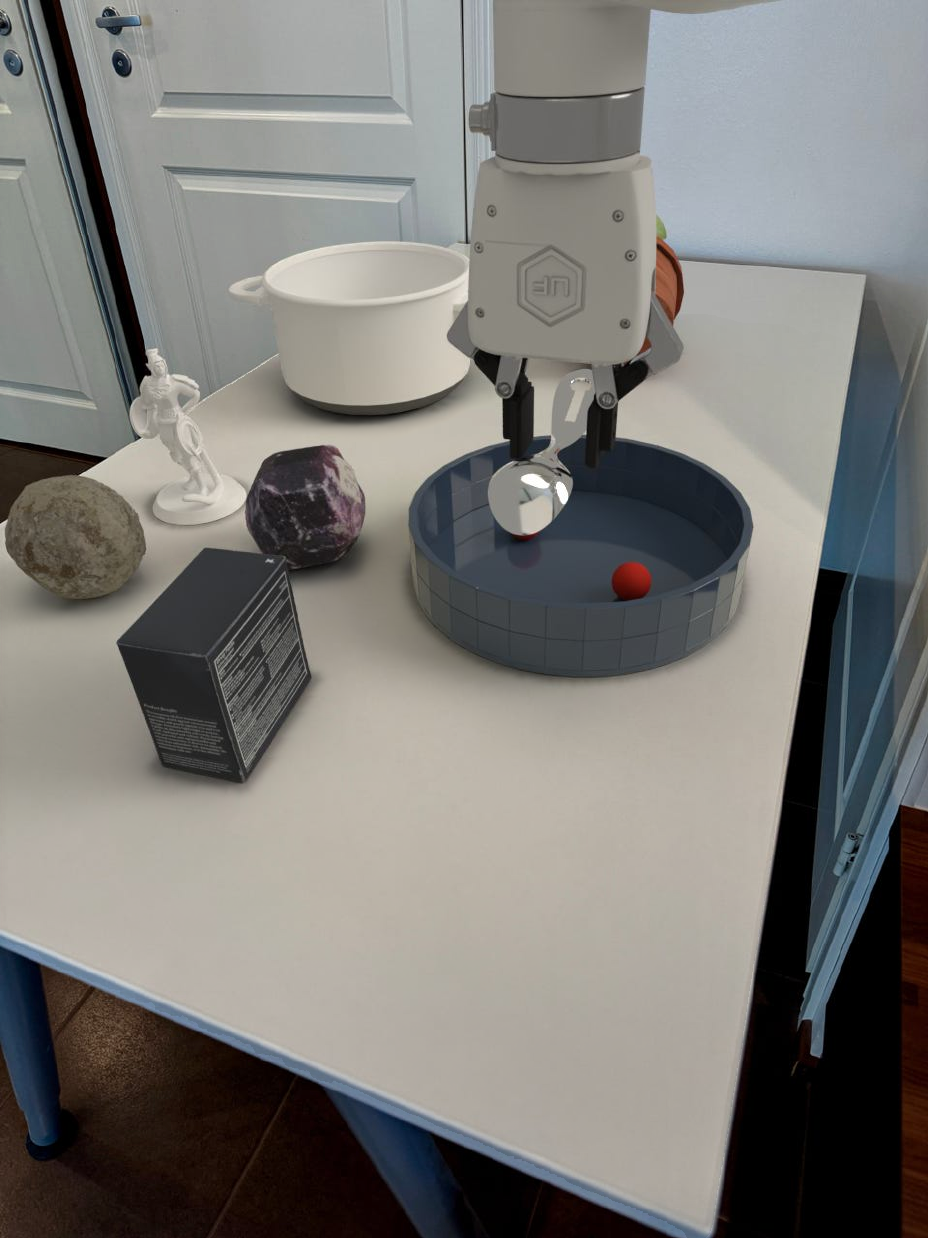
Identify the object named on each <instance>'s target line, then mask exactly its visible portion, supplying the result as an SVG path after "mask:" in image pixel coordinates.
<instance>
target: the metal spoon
mask: <svg viewBox="0 0 928 1238" xmlns="http://www.w3.org/2000/svg"><path fill="white" fill-rule="evenodd" d="M577 382H587V383H588V384H590V386H591V387H590V388H588V389H587V390H585V391H584V394H583V396H582V400H581V402H580V405H579V409H578V412H577V414H576V417H575V420H574V421H571V420H567V418H568V415H569V412H570V409H571V406H572V403H573V401H574V398H575V395H576V390H575V389H573V388H572V385H573V384H574V383H577ZM594 394H595V386H594V380H593V373H592V369H589V368H582V369H578V370H574V371H571V372H569V373H567V374H566V375H564V376H563V377H562V378H561V379H560V380H559V382H558V384H557V386H556V388H555V391H554V394H553V401H552V409H551V424H550V425H551V426H550V427H551V430H550V431H551V432H550V435H551V442H550V445H549V447H548V448H547V449H546V450H544V451H542V452H540V453H538V454H534V455H530V456H526V457H522V458H519V459H517V460H514V461H512V462H510V463H508V464H506V465H504V466H503V467H501V468H500V469H499V470H498V471H497V472H496V473H495V474H494V475H493V477H492V478H491V480H490V483H489V487H488V500H489V505H490V508H491V511H492V513H493V515H494V517H495V519H496V520H497V522H498V523H499V524H500V525H501V526H502V527H503V528H504V529H505V530H507V531H508V532H510V533H513V534H516V535H530V534H534V533H536V532H538V531H540V530H542V529H543V528H545V527H546V526H547V525H548V524H549V523H551V522H552V521H553V520H554V518H555V517H556V516H557V515H558V514H559V513H560V511H561V510H562V508H563V507H564V505H565V504H566V502H567V500H568V498H569V496H570V494H571V491H572V487H573V479H572V476H571V474H570V472H569V471H568V469H567V468H566V467H565V466H564V465H563V464H562V463H561V462H560V461H559V459H558V458H557V454H558V453H559V452H561V451H562V450H564V449H566V448H567V447H569V446H570V445H572V444H573V443H574V442H575V441H577V440H578V439H579V438H580V437H581V436H582V435H585V433H586V429H587V412H588V408H589V407H590V405H591V403H592V401H593V400H594Z"/></svg>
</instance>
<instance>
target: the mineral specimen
mask: <svg viewBox="0 0 928 1238" xmlns="http://www.w3.org/2000/svg"><path fill="white" fill-rule="evenodd" d="M244 515H245V516H244V517H245V518H244V519H245V525H246V528H247V531H248V532H249V534H250V536H251V537H252V539H253V541H254V542H255V544H256V545H257V547H258V550H260V552H261V554H269V555H278V556H285V557H286V562H287V567H288V571H289V570H296V569H304V568H308V567H313V566H318V565H323V564H328V563H333V562H335V561H339V560H342V559H344V558H345V557H346V556H347V555H348V554H349V553H350V552H351V551H352V549H353V547H354V545H355V544H356V543H357V541H358V539H359V537H360V535H361V532H362V528H363V525H364V521H365V517H366V496H365V493H364V491H363V489H362V487H361V486H360V484H359V481H358V479H357V476H356V473H355V469H354V468H353V466H352V465H351V464H350V463H349V462H348V461H347V460H346V459H345V458H344V457H343V455H342V453H341V452H340V450H339V448H338V447H337V446H335V445H331V444H320V445H313V446H305V447H299V448H293V449H289V450H282V451H278V452H274V453H271V454H270V455H268V456H267V457H266V458H265V459H263V461H262V462H261V465H260V467H259V468H258V471H257V473H256V475H255V477H254V479H253V482H252V484H251V487H250V489H249V491H248V493H247V497H246V500H245V509H244Z"/></svg>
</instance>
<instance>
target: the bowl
mask: <svg viewBox="0 0 928 1238" xmlns="http://www.w3.org/2000/svg"><path fill="white" fill-rule="evenodd" d="M550 442H551V434H550V435H549V434H547V435H538V436H534V437H533V441H532V443H531V444H530V446H529V447H528V449H527V450H526V452H525V454H524V455H523V457H526V456H530V455H534V454H538V453H540V452H542V451H544V450H546V449H547V448H548V447H549V445H550ZM585 450H586V434H583V435H582V436H581V437H580V438H579V439H578V440H577V441H575V442H574V443H573V444H572V445H570V446H569V447H567V448H566V449H564V450H562V451H561V452H559V453H558V454H557V458H558V459H559V461H560V462H561V463H562V464H563V465H564V466H565V467H566V468H567V469H568V471H569V472H570V474H571V476H572V479H573V487H572V491H571V494H570V496H569V498H568V500H567V502H566V504H565V505H564V507H563V508H562V510H561V511H560V513H559V514H558V515H557V516H556V517H555V518H554V520H553V521H552V522H551V523H549V524H548V525H547V526H546V527H545V528H543V529H542V530H540V532H539V533H538V534H537V535H536V536H535V537H533V538H531V539H528V540H521V539H518V538H516V537H514V536H513V535H512V534H511V533H510V532H508V531H507V530H505V529H504V528H503V527H502V526H501V525H500V524H499V523H498V522H497V520H496V519H495V517H494V515H493V513H492V511H491V508H490V505H489V500H488V487H489V483H490V480H491V478H492V477H493V475H494V474H495V473H496V472H497V471H498V470H499V469H500V468H501V467H503V466H504V465H506V464H508V463H510V462H512V461H514V460H517V459H512V458H510V440H507V441H502V442H499V443H495V444H491V445H487V446H485V447H481V448H479V449H476V450H473V451H470V452H467V453H465V454H463V455H461V456H459V457H456V458H455V459H454V460H451V461H450V462H447V463H446V464H444V465H442V466H441V467H440V468H438V469H437V470H436V471H435V472H433V473H432V474H431V475H429V476H428V477H426V479H425V480H424V481H423V482H422V484H421V485H420V486H419V487H418V489H416V491H415V493H414V495H413V497H412V499H411V502H410V504H409V507H408V521H407V525H408V526H407V527H408V539H409V548H410V549H409V550H410V560H411V561H410V562H411V572H412V573H411V574H412V583H413V586H414V587H413V588H414V593H415V595H416V599H417V602H418V605H419V606H420V608H421V609H422V611H423V612H424V615H425V616H426V617H427V618H428V620H429V621H430V622H431V623H432V624H433V625H434V626H435V627H436V629H438V630H439V631H440V632H441V633H442V634H443V635H445V636H446V637H447V638H448V639H449V640H451V641H452V642H454V643H456V645H459V646H460V647H462V649H464V650H467V651H469V652H471V653H473V654H475V655H477V656H479V657H482V658H484V659H486V660H489V661H491V662H495V663H497V664H500V665H503V666H505V667H510V668H513V669H517V670H521V671H526V672H531V673H537V674H543V675H547V676H548V675H550V676H560V677H571V678H572V677H574V678H583V677H584V678H589V677H590V678H596V677H597V678H599V677H610V676H619V675H620V676H622V675H628V674H633V673H639V672H644V671H648V670H653V669H655V668H659V667H662V666H665V665H669V664H672V663H674V662H676V661H679V660H681V659H683V658H685V657H688V656H690V655H691V654H693V653H695V652H697V651H699V650H700V649H702V648H704V647H706V645H708V644H709V643H710V642H711V641H713V640H715V638H717V637H718V636H719V635H720V634H721V633H722V631H724V629H725V628H726V627H727V626H728V625H729V623H730V622H731V620H732V619H733V617H734V615H735V614H736V611H737V609H738V606H739V603H740V600H741V595H742V589H743V585H744V581H745V575H746V570H747V564H748V559H749V553H750V549H751V544H752V543H751V542H752V538H753V533H754V522H753V515H752V511H751V507H750V506H749V504H748V502H747V500H746V499H745V497H744V495H743V494H742V492H741V491H740V490H739V489H738V488H737V487H736V486H735V485H734V484H733V483H732V482H731V481H730V479H728V478H727V477H726V476H724V475H723V474H721V473H720V472H718V471H717V470H715V469H713V468H712V467H711V466H709V465H707V463H704V462H702V461H700V460H697V459H696V458H693V457H691V456H689V455H687V454H685V453H683V452H680V451H677V450H673V449H670V448H668V447H664V446H662V445H659V444H654V443H650V442H644V441H640V440H635V439H630V438H626V437H625V438H624V437H618V436H617V437H616V439H615V444H614V448H613V450H612V452H610V451H605V452H604V454H603V456H602V458H601V460H600V462H599V465H598V467H597V469H593V468H588V466H586V465H585ZM520 458H521V457H520ZM627 562H636V563H639V564H641V565H643V566H644V567H645V568H647V570H648V571H649V573H650V575H651V587H650V590H649V592H648V593H647V594H646V595H645V596H644V597H643V598H641V599H635V600H629V601H626V600H623V599H621V598H620V597H619V596H617V595H616V593H615V592H614V590H613V588H612V576H613V573H614V572H615V570H616V569H617V568H618V567H619V566H620V565H622V564H624V563H627Z"/></svg>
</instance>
